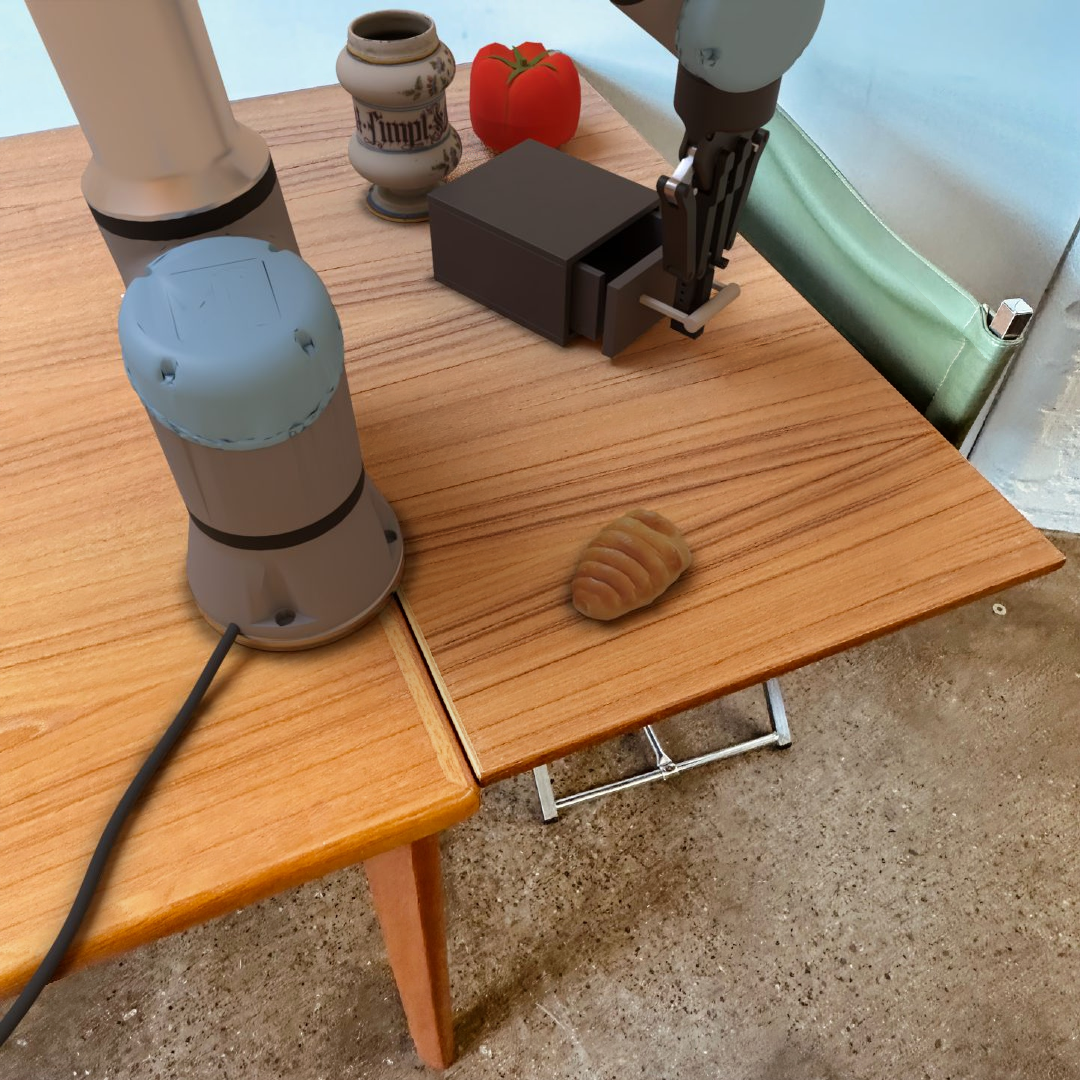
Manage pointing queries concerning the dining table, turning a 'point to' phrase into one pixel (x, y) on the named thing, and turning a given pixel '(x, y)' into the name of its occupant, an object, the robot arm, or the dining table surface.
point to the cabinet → (528, 230)
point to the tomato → (523, 96)
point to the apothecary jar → (399, 110)
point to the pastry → (629, 565)
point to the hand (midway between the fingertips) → (686, 330)
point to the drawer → (632, 289)
